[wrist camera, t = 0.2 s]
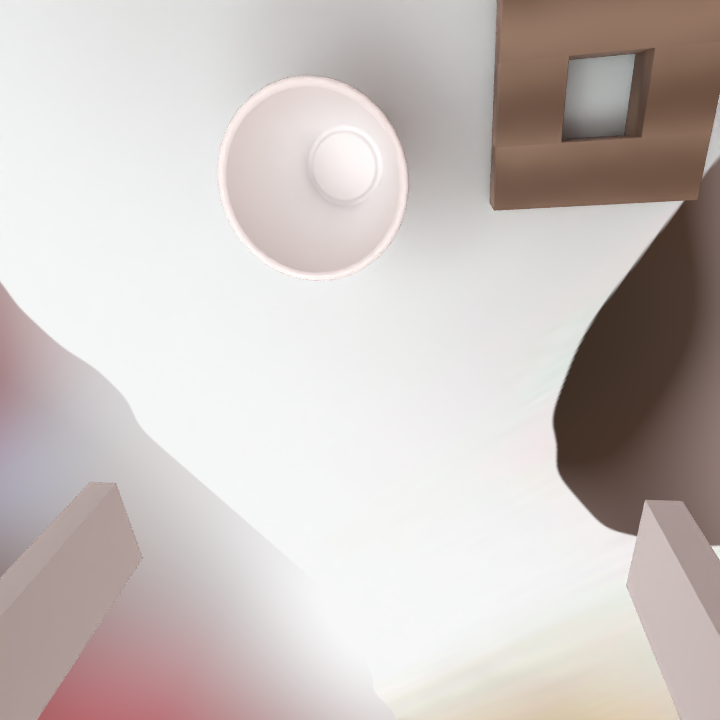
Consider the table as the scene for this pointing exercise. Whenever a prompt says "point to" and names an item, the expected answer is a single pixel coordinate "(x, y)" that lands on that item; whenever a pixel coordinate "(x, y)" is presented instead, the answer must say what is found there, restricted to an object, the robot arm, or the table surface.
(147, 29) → the table surface
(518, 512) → the table surface
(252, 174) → the cup
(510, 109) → the hole plate
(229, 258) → the table surface
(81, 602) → the robot arm
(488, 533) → the table surface
